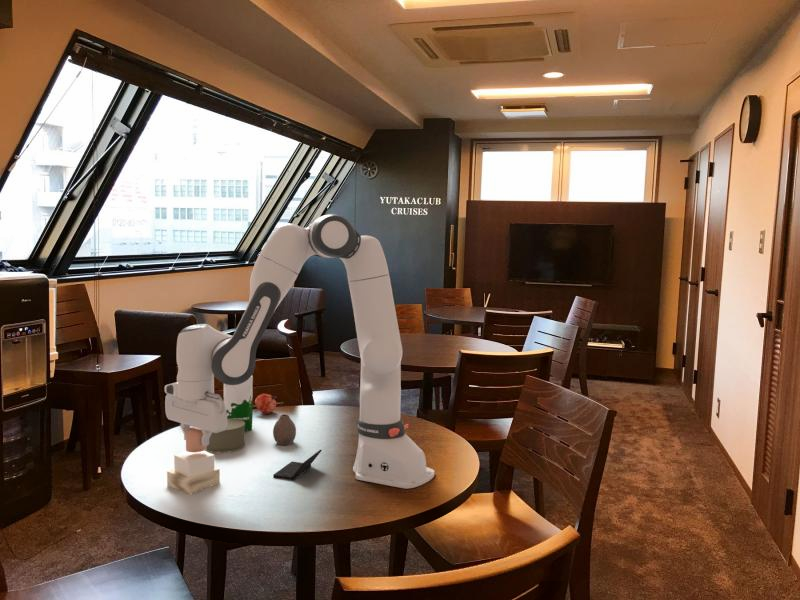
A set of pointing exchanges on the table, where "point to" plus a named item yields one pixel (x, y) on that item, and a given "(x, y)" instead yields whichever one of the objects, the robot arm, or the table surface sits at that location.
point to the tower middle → (194, 463)
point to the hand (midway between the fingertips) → (196, 442)
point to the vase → (284, 430)
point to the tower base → (192, 480)
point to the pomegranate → (265, 403)
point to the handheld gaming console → (295, 469)
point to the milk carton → (240, 402)
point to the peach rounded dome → (194, 440)
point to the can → (228, 437)
